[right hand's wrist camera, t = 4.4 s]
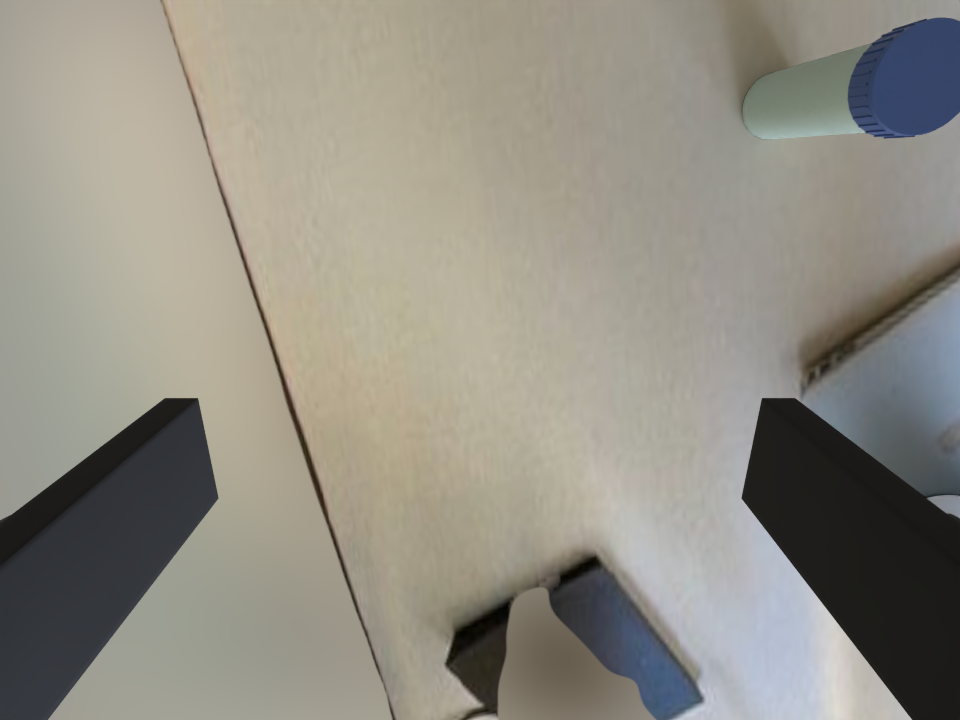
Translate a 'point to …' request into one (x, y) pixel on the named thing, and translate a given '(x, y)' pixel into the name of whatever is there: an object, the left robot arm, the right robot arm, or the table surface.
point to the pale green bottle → (804, 99)
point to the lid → (908, 80)
